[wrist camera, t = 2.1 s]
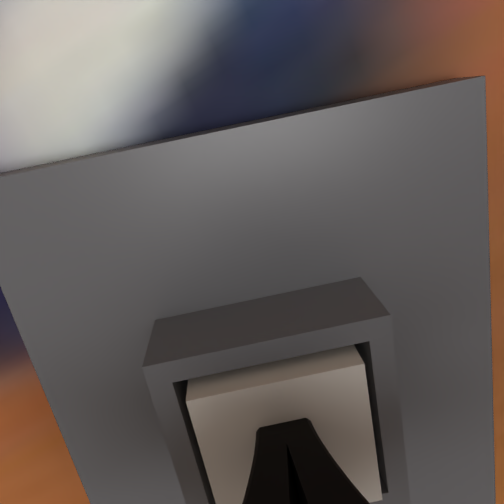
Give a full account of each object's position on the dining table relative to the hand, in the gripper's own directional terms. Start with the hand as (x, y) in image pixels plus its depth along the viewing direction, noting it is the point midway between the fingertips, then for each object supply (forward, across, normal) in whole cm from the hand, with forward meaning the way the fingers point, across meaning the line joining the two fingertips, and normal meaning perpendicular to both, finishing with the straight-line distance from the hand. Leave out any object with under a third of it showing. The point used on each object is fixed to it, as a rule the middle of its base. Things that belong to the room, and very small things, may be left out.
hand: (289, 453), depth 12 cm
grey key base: (+4, 0, +6) cm, 7 cm away
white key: (+2, 0, 0) cm, 2 cm away
